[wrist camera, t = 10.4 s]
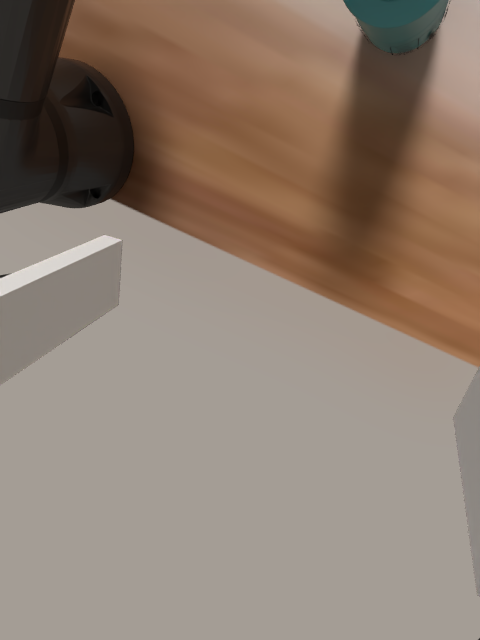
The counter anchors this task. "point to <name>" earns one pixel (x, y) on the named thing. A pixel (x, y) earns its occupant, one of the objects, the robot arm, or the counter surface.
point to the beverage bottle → (398, 21)
